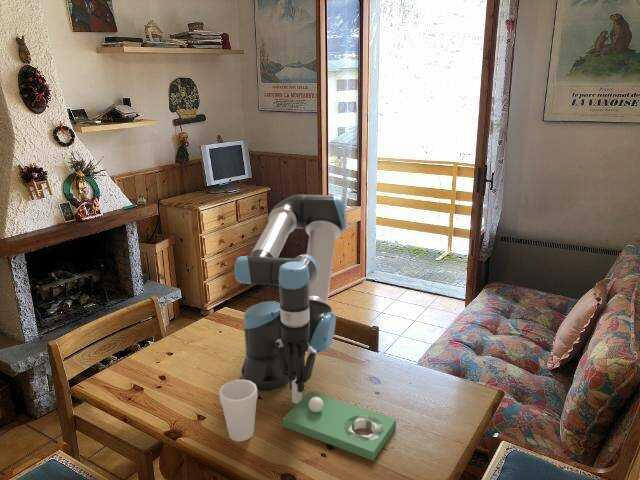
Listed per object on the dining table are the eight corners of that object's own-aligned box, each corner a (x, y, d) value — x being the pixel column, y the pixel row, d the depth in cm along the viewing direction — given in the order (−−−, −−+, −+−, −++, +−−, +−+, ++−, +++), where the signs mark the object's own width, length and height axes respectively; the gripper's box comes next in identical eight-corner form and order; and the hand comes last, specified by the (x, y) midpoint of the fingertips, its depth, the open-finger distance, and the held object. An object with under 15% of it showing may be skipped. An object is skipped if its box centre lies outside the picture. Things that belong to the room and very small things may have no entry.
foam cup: (243, 450, 129) (240, 405, 125) (215, 437, 134) (211, 393, 130) (266, 429, 136) (264, 386, 132) (239, 417, 141) (236, 375, 137)
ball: (305, 412, 139) (305, 399, 137) (313, 404, 142) (313, 392, 141) (318, 417, 137) (318, 404, 136) (326, 409, 140) (326, 396, 139)
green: (283, 426, 137) (282, 418, 137) (310, 398, 149) (310, 391, 148) (373, 460, 125) (373, 452, 124) (395, 427, 136) (396, 419, 135)
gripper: (266, 321, 135) (269, 400, 142) (308, 333, 128) (310, 415, 135) (282, 310, 141) (285, 387, 148) (324, 321, 134) (325, 400, 141)
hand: (297, 400), depth 141 cm, fingers closed
